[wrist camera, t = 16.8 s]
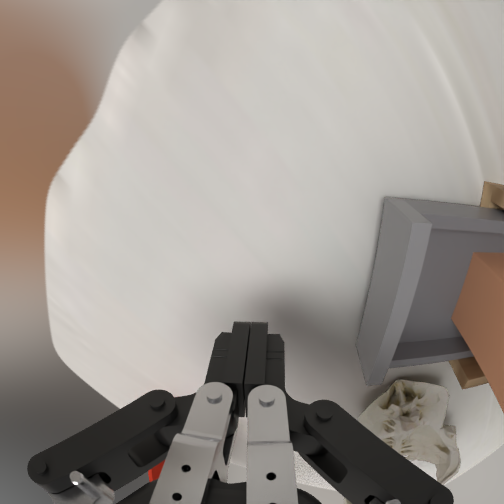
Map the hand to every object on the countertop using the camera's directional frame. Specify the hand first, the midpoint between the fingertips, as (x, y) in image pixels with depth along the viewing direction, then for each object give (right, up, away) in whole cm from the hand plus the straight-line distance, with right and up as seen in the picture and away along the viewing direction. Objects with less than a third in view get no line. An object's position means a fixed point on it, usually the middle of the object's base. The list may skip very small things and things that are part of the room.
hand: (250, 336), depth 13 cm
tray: (+14, +2, +3) cm, 14 cm away
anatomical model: (+17, -17, +14) cm, 28 cm away
